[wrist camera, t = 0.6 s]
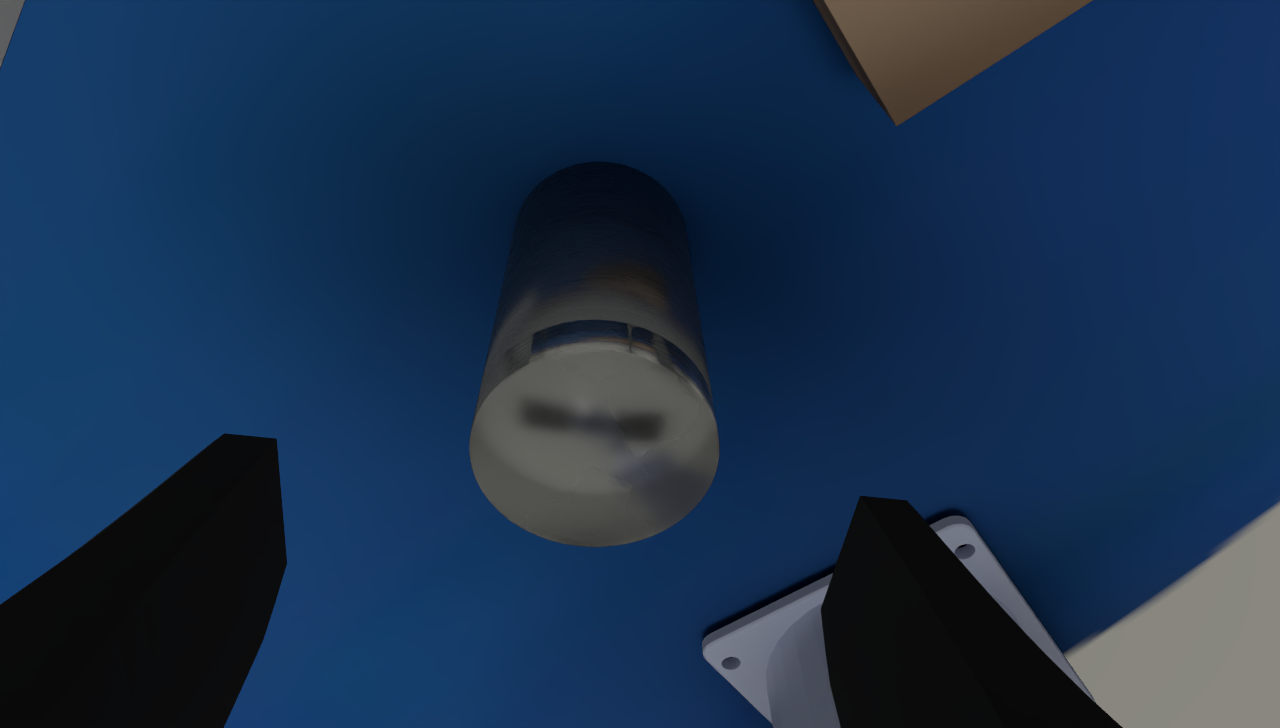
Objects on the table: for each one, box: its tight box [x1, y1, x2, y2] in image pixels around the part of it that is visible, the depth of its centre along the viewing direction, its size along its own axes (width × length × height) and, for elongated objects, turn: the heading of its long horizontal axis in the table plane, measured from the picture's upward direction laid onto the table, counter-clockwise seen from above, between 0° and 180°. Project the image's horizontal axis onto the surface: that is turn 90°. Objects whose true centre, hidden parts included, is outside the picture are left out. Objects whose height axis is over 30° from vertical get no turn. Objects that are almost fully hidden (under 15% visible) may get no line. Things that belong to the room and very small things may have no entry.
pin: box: [470, 162, 719, 547], centre depth 16 cm, size 4×4×7 cm
